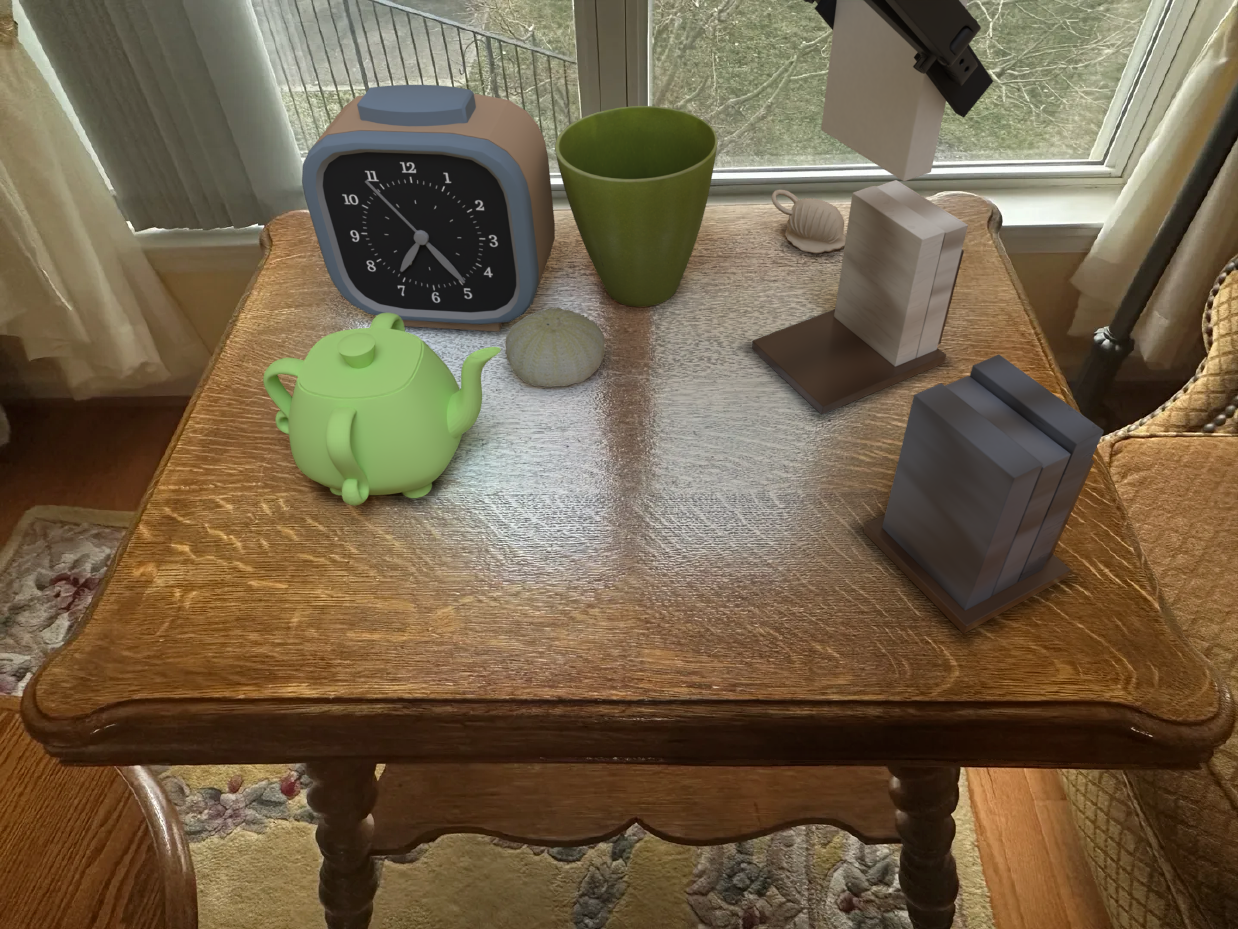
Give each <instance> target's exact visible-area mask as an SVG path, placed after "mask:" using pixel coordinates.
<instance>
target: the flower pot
mask: <svg viewBox="0 0 1238 929" xmlns="http://www.w3.org/2000/svg"><path fill="white" fill-rule="evenodd" d="M718 139H719V137H718V134H717V132H716V130H715V129H714V128H713V126H712V125H711V124H710V123H709V122H708V121H706V120H704V119H703V118H701V117H699V116H697V115H695V114H693V113H691V112H686V111H684V110H680V109H675V108H670V107H665V106H654V105H633V106H623V107H615V108H612V109H605V110H602V111H598V112H594V113H592V114H588V115H586V116H583V117H581V118H578V119H576V120H575V121H573V122H572V123H570V124H569V125H567V126H566V127H565V128H564V129H563V130H562V131H561V132H560V133H559V134H558V136H557V138H556V140H555V143H554V153H555V157H556V160H557V165H558V169H559V173H560V178H561V180H562V184H563V188H564V191H565V194H566V198H567V201H568V205H569V207H570V210H571V214H572V216H573V219H574V222H575V224H576V227H577V230H578V233H579V235H580V238H581V240H582V242H583V245H584V247H585V249H586V252H587V254H588V257H589V259H590V261H591V263H592V266H593V267H594V269H595V271H596V274H597V276H598V278H599V279H600V281H601V283H602V285H603V287H604V289H605V291H606V292H607V294H608V295H609V297H610V298H611V299H612V300H614V301H615V302H617V303H619V304H622V305H625V306H629V307H638V308H646V307H653V306H656V305H659V304H662V303H664V302H666V301H668V300H669V299H671V298H672V297H673V296H674V295H675V294H676V292H677V290H678V288H679V287H680V284H681V281H682V279H683V276H684V275H685V272H686V270H687V268H688V264H689V262H690V260H691V257H692V254H693V251H694V248H695V245H696V242H697V240H698V236H699V233H700V229H701V226H702V224H703V219H704V215H705V212H706V207H707V202H708V198H709V195H710V194H709V193H710V190H711V189H710V188H711V184H712V178H713V173H714V168H715V162H716V156H717V151H718V150H717V149H718V144H719V143H718V142H719V141H718Z"/></svg>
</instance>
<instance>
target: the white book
mask: <svg viewBox="0 0 1238 929" xmlns="http://www.w3.org/2000/svg"><path fill="white" fill-rule="evenodd" d="M959 1H960V2H961V3H962V4H963V5H964V7H965V8H966V9H967V6H968V2H969V0H959ZM916 54H917V51H916V50H915V49H914V48H913V47H912V46H911V45H910V44H909V43H908V42H906V41H905V40H904V39H903V38H902V37H901V36H900V35H899V34H898V33H897V32H896V31H895V30H894V29H893V28H892V27H891V26H890V25H889V24H888V23H887V22H886V21H885V20H884V19H883V18H881V17H880V16H879V15H878V14H877V13H876V12H875V11H874V10H873V9H872V8H871V7H870V6H869V5H868V4H867V3H866V2H865V1H864V0H837V3H836V11H835V19H834V28H833V30H832V38H831V45H830V52H829V62H828V68H827V69H828V70H827V79H826V87H825V95H824V101H823V102H824V103H823V111H822V118H821V128H820V129H821V131H822V132H824V133H825V134H827V135H828V136H830V137H832V138H833V139H835V140H836V141H838V142H839V143H841V144H842V145H844V146H846V147H847V148H849V149H851V150H853V151H854V152H856V153H858V154H859V155H860V156H862V157H863V158H865V159H867V160H868V161H870V162H872V163H873V164H874V165H876V166H878V167H880V168H881V169H883V170H885V171H886V172H887V173H889V174H891V175H892V176H894V177H896V178H897V179H899V180H900V181H902V182H907V181H909V180H913V179H915V178H918V177H922V176H924V175H927V174H930V173H932V171H933V170H932V169H933V165H934V160H935V155H936V150H937V146H938V140H939V136H940V133H941V132H940V131H941V127H942V122H943V118H944V113H945V109H946V104H947V101H946V100H945V98H944V97H943V96H942V94H941V93H940V92H939V90H938V89H937V88H936V86H935V85H934V84H933V82H932V81H931V80H930V78H929V77H928V76H927V74H926V73H925V74H923V73H920V72H919V71H917V70H916V69H915V68H913V66H914V64H915V63H916V62H917V61H916V60H915V59H914V56H915V55H916Z"/></svg>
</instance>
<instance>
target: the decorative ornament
mask: <svg viewBox="0 0 1238 929" xmlns="http://www.w3.org/2000/svg"><path fill="white" fill-rule="evenodd" d="M779 195H781V196H785V197H787V198H788V199H789V200H791V201H792V203H793V205H792V207H791V209H790V208H787V207H785V206H783V205H782V204H780V202H779V201H778V199H777V196H779ZM770 198H771V202H772V204H773V206H774V207H775V208H776V209H777V210H778V211H779V212H780V213H782V214H784V215H787V216H788V220H787V222H786V225H787V228H786V229H785V233H784V235H785V236H784V237H786V238H787V241H788V242H790V243H791V244H792V245H793V247H796V248H797V249H799V250H800V251H801V252H804V253H811V254H822V253H824V252H826V253H830V252H832V251H834V250H840V249H841V248H844V246H845V240H846V235H845V234H844V229H845V219H844V217H843V214H842V213H841V211H840V210H839V209H838V208H837V207H836V206H834V205H833V204H832V203H830V202H827V201H824V200H821V199H818V198H812V197H811V198H810V197H805V198H802V199H799V198H798V197H797V196H796V195H795V194H794V193H793V192H791V191H789V190H787V189H776V190H774V191H773V192H772V194H771V197H770Z"/></svg>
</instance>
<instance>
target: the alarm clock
mask: <svg viewBox="0 0 1238 929" xmlns="http://www.w3.org/2000/svg"><path fill="white" fill-rule="evenodd" d="M548 154H549V153H548V149H547V144H546V141H545V138H544V136H543V133H542V131H541V129H540V127H539V124H538V123H537V122H536V121H535V120H534V118H533V117H532V115H531V114H530V113H529V112H528V111H527V110H525V108H522V107H521V106H519V105H518V104H517V103H515V102H513V101H512V100H510V99H506V98H501V97H495V96H491V95H485V94H479V93H475V92H474V91H472V89H468V88H463V87H456V86H450V85H449V86H448V85H440V84H439V85H437V84H436V85H435V84H394V85H393V84H391V85H382V86H372V87H371V86H370V87H369V88H368V89H367V91H366V92H365V94H362V95H357V96H356V97H354V98H353V99H352V100H351V101H349V102H347V103H346V104H345V105H344V106H343V108H342V109H341V110H340V111H339V113H338V114H337V115H336V117H334V119H333V120H332V121H331V123H330V124H329V125H328V127H327V128H326V129H325V130H324V131H323V133H322V134H321V135H320V137H319V138H318V139H317V140H316V141H315V143H314V144H313V145H312V146H311V148H310V149H309V151H308V153H307V155H306V156H305V158H304V161H303V163H302V169H301V170H302V172H301V185H302V190H303V195H304V199H305V202H306V207H307V209H308V213H309V215H310V220H311V223H312V226H313V230H314V233H315V236H316V239H317V242H318V246H319V249H320V253H321V256H322V259H323V262H324V265H325V269H326V270H327V273H328V276H329V278H330V280H331V282H332V284H333V285H334V286H335V288H336V289H337V291H338V292H339V294H340V295H341V296H342V297H343V298H344V299H345V300H346V301H347V302H348V303H349V304H350V305H352V306H353V307H355V308H357V309H359V310H361V311H363V312H364V313H366V314H368V315H373V316H377V315H379V314H381V313H393V314H397V315H398V316H400V317H401V319H402V320H403V323H404V327H416V328H430V329H449V330H464V331H465V330H466V331H467V330H468V331H485V332H501V329H502V326H503V323H510V322H512V321H514V320H516V319H518V318H520V317H521V316H523V315H524V314H526V312H527V311H528V310H529V309H530V307H531V306H532V305H533V303H534V301H535V299H536V295H537V292H538V290H539V287H540V283H541V281H542V278H543V275H544V273H545V271H546V270H545V269H546V267H547V264H548V261H549V258H550V255H551V253H552V250H553V246H554V243H555V238H556V237H555V235H556V224H555V213H554V212H555V211H554V202H553V192H552V183H551V172H550V171H551V170H550V160H549V155H548Z"/></svg>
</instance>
